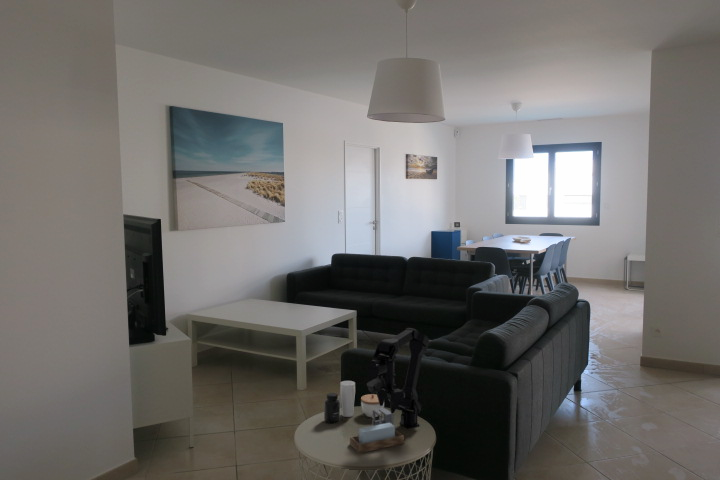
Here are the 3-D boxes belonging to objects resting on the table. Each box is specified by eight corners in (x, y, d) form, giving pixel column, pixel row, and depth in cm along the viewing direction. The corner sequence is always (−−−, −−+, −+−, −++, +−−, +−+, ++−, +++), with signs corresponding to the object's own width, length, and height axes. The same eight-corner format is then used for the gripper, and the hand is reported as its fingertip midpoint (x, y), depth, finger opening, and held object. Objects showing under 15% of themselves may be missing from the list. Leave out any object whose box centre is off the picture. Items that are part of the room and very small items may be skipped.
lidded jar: (368, 421, 240) (368, 400, 239) (356, 412, 249) (356, 392, 248) (388, 416, 245) (388, 396, 244) (376, 408, 254) (376, 389, 254)
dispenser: (385, 425, 235) (385, 407, 234) (393, 431, 229) (393, 413, 228) (372, 428, 232) (372, 410, 231) (380, 434, 226) (380, 415, 225)
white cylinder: (357, 413, 248) (357, 381, 247) (351, 419, 242) (352, 386, 241) (343, 411, 250) (343, 379, 249) (337, 417, 244) (338, 384, 243)
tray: (393, 435, 225) (393, 428, 225) (403, 443, 217) (404, 435, 217) (349, 444, 216) (350, 437, 216) (359, 452, 208) (359, 445, 208)
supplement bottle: (337, 424, 235) (337, 397, 235) (322, 423, 237) (322, 396, 236) (341, 418, 242) (341, 392, 241) (326, 417, 243) (326, 391, 243)
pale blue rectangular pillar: (389, 436, 221) (389, 422, 221) (394, 440, 218) (394, 426, 217) (358, 443, 215) (358, 428, 215) (363, 447, 211) (363, 432, 211)
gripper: (359, 368, 225) (358, 405, 226) (380, 381, 208) (380, 420, 209) (382, 364, 230) (382, 401, 231) (405, 377, 213) (405, 416, 214)
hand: (386, 409), depth 221 cm, fingers open, 9 cm apart
